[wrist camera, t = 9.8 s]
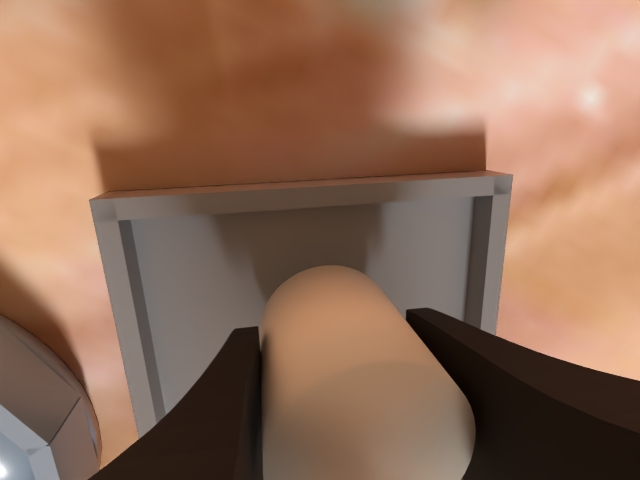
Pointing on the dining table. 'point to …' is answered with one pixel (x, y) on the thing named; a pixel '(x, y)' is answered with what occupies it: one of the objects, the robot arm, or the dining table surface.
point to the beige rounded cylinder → (354, 387)
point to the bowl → (42, 413)
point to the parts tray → (286, 260)
